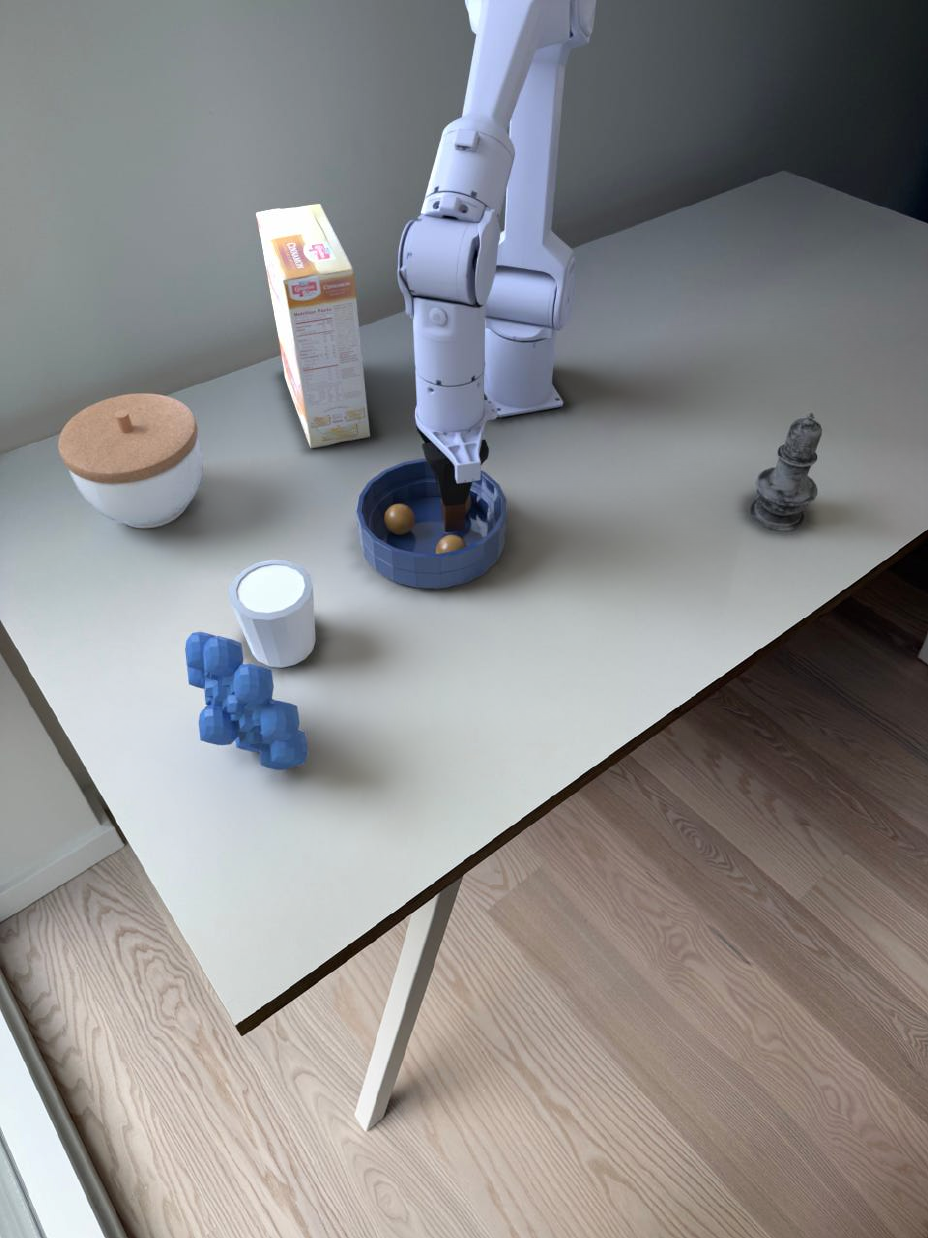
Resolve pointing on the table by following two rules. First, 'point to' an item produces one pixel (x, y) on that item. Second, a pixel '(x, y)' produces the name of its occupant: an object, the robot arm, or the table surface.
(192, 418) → the lidded bowl
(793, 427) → the grey chess piece
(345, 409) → the coffeecake box
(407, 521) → the bead
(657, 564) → the table surface
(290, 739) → the grapes
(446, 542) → the bead
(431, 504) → the bowl
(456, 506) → the stick
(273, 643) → the white cylinder
